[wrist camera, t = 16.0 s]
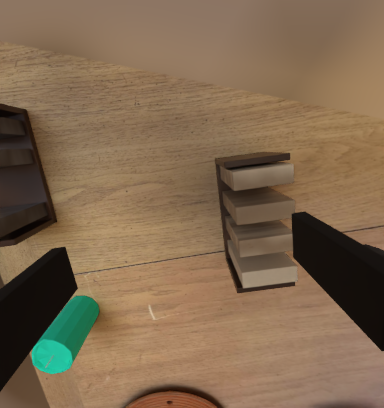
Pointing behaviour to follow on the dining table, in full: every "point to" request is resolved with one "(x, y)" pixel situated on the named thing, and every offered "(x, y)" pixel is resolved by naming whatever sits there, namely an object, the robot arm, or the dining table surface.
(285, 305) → the dining table surface
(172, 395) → the ring
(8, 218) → the grey rack
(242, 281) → the cream book
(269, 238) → the cream rack
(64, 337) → the candle
